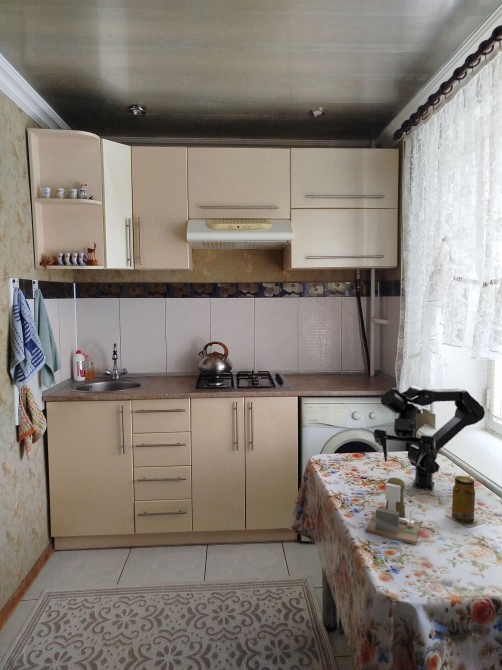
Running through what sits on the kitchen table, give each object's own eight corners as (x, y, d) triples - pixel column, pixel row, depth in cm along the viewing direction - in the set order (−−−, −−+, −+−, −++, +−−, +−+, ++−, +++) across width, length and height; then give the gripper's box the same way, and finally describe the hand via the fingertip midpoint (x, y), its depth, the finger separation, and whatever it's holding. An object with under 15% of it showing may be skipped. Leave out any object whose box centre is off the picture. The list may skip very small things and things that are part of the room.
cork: (406, 520, 134) (407, 484, 133) (385, 518, 135) (386, 482, 134) (404, 510, 140) (405, 476, 139) (383, 508, 141) (384, 474, 140)
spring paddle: (385, 515, 135) (386, 482, 134) (414, 521, 131) (416, 488, 130) (384, 518, 133) (385, 485, 132) (413, 525, 129) (414, 491, 128)
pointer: (407, 523, 130) (408, 508, 129) (413, 525, 129) (414, 509, 128) (407, 525, 129) (407, 510, 128) (413, 526, 128) (413, 511, 127)
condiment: (461, 510, 140) (463, 472, 139) (485, 522, 133) (487, 483, 131) (444, 515, 137) (446, 477, 136) (468, 528, 129) (470, 488, 128)
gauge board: (374, 515, 137) (374, 495, 136) (421, 525, 131) (421, 504, 130) (365, 531, 127) (365, 510, 127) (415, 544, 121) (416, 522, 120)
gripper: (374, 404, 150) (366, 447, 141) (435, 410, 141) (430, 457, 133) (379, 421, 158) (372, 463, 149) (437, 428, 149) (432, 472, 141)
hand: (400, 463), depth 143 cm, fingers open, 9 cm apart
